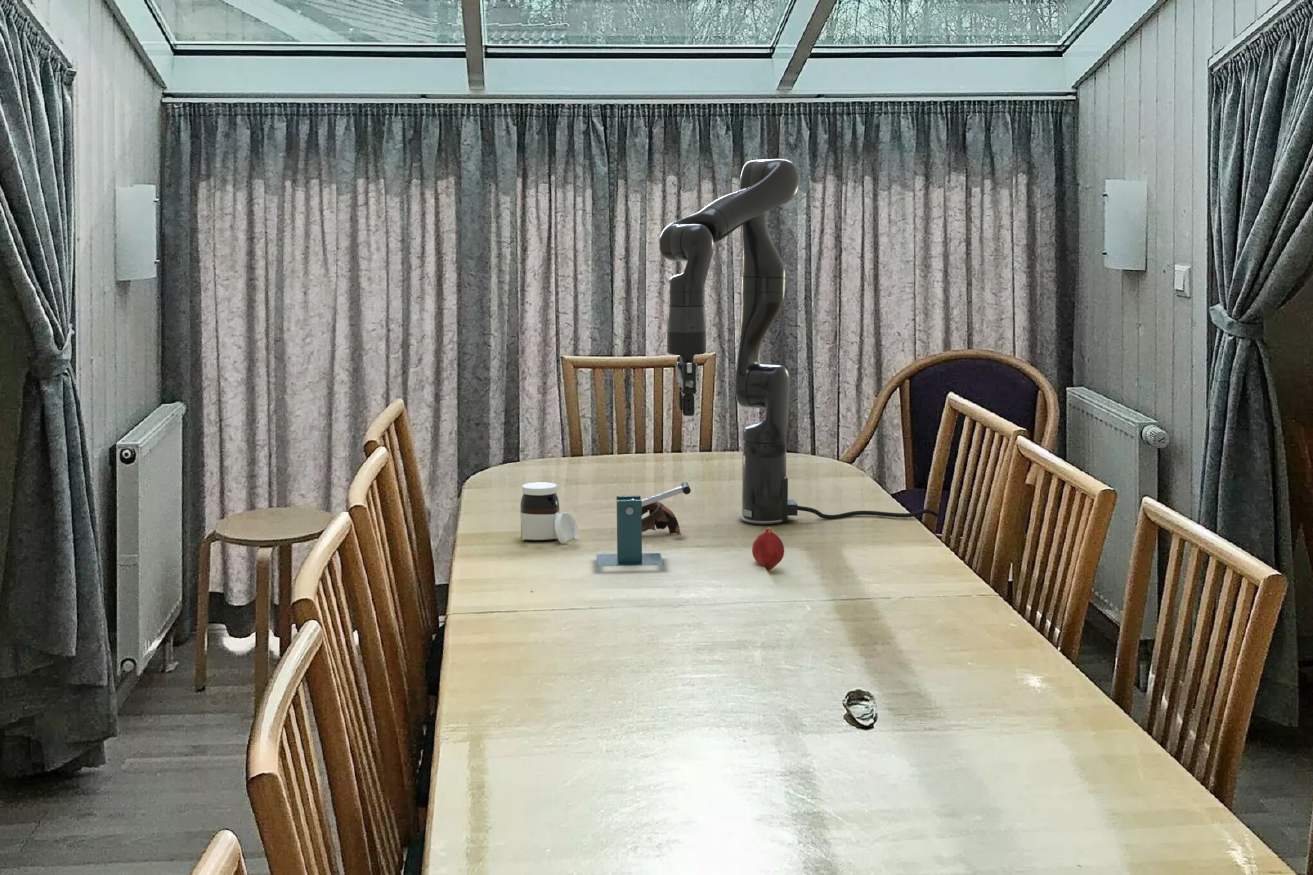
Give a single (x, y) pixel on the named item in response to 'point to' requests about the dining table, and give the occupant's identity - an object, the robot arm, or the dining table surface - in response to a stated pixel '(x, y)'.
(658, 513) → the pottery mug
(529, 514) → the spread jar
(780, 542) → the onion
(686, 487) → the lever
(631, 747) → the dining table surface
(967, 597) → the dining table surface
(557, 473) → the dining table surface
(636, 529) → the bracket
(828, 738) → the dining table surface
